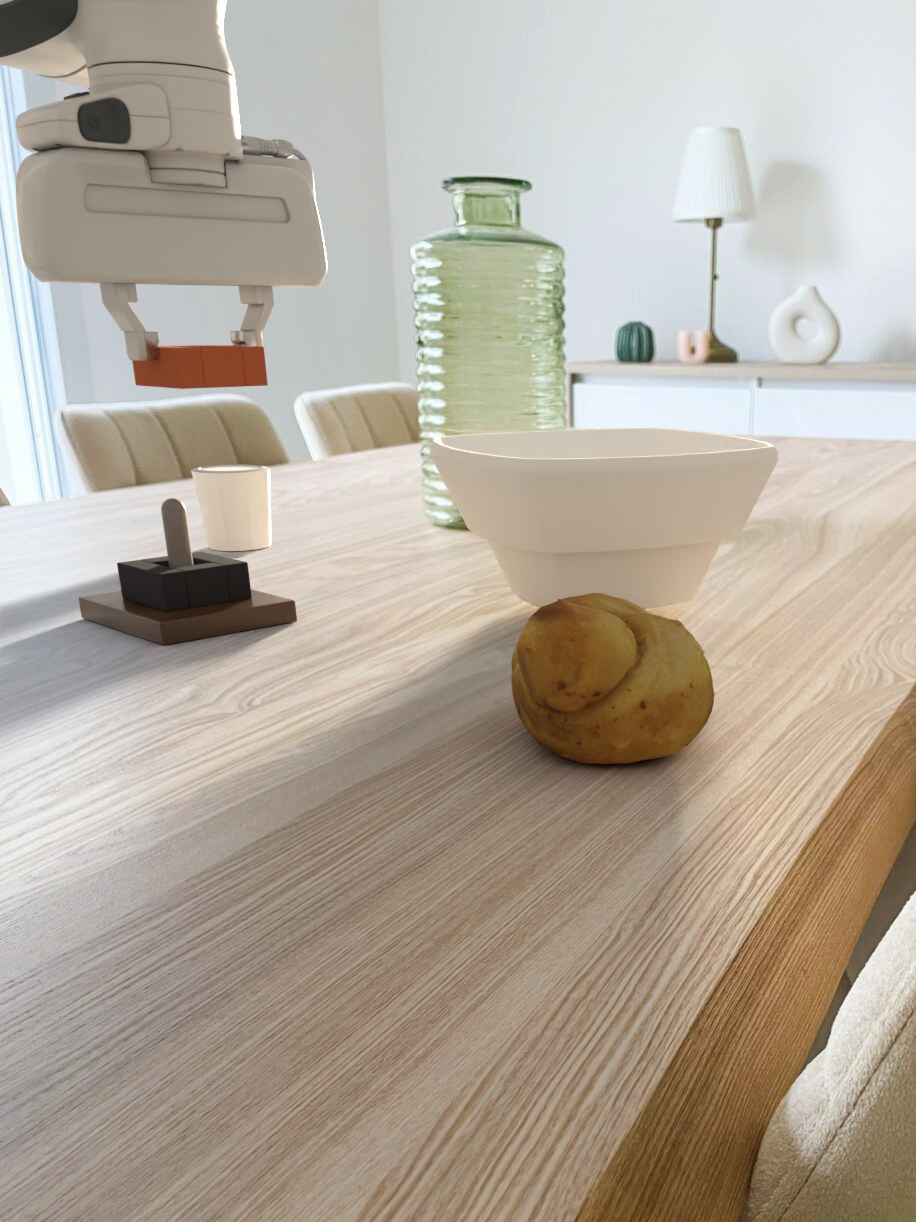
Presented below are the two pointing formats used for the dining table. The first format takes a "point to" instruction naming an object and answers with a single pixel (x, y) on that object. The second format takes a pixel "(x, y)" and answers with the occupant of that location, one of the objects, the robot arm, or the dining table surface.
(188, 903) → the dining table surface
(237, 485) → the cream cup
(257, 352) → the terracotta pad
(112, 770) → the dining table surface
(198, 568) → the charcoal square ring
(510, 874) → the dining table surface
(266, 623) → the peg stand
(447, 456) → the bowl
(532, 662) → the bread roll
